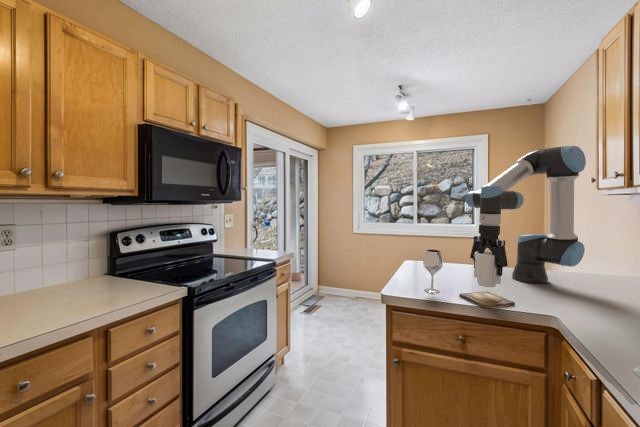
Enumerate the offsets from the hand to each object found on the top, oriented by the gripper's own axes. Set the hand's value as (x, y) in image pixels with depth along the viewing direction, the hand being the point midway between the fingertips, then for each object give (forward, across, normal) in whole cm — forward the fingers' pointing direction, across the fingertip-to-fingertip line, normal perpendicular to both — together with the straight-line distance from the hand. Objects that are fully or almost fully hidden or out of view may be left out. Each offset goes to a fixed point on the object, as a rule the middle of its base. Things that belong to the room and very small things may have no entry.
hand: (486, 279), depth 126 cm
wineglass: (+9, -16, -14) cm, 23 cm away
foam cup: (+2, 0, 0) cm, 2 cm away
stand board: (+9, 0, 0) cm, 9 cm away
